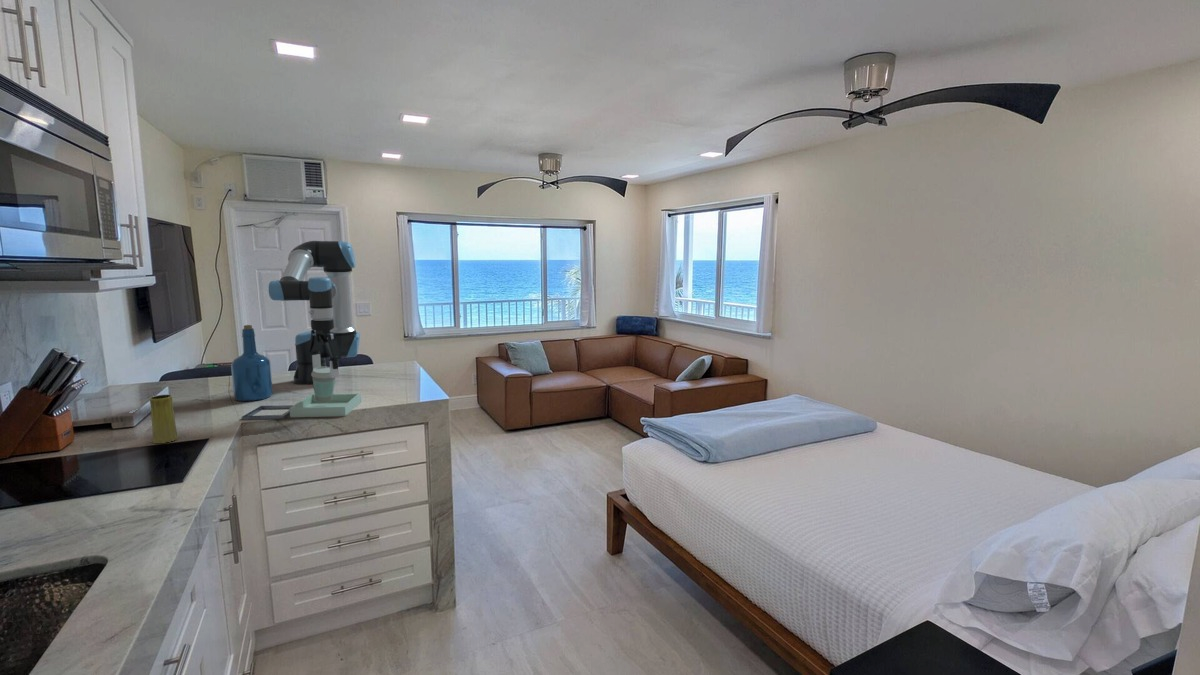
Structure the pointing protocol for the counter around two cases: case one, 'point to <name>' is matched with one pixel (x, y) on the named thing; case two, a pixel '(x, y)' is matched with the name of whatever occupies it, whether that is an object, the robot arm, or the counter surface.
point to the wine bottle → (251, 371)
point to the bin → (325, 406)
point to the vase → (163, 419)
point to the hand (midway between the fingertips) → (325, 374)
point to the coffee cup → (323, 384)
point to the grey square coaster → (249, 415)
